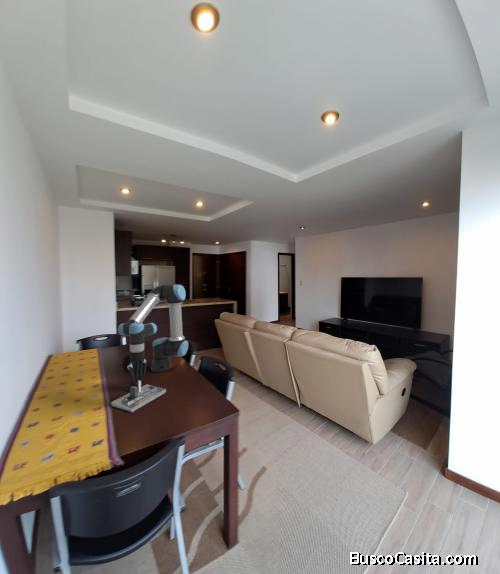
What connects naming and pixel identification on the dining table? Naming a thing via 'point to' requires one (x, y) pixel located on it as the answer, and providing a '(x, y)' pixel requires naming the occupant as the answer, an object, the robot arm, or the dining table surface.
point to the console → (138, 398)
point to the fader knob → (133, 392)
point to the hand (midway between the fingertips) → (138, 391)
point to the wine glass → (126, 363)
